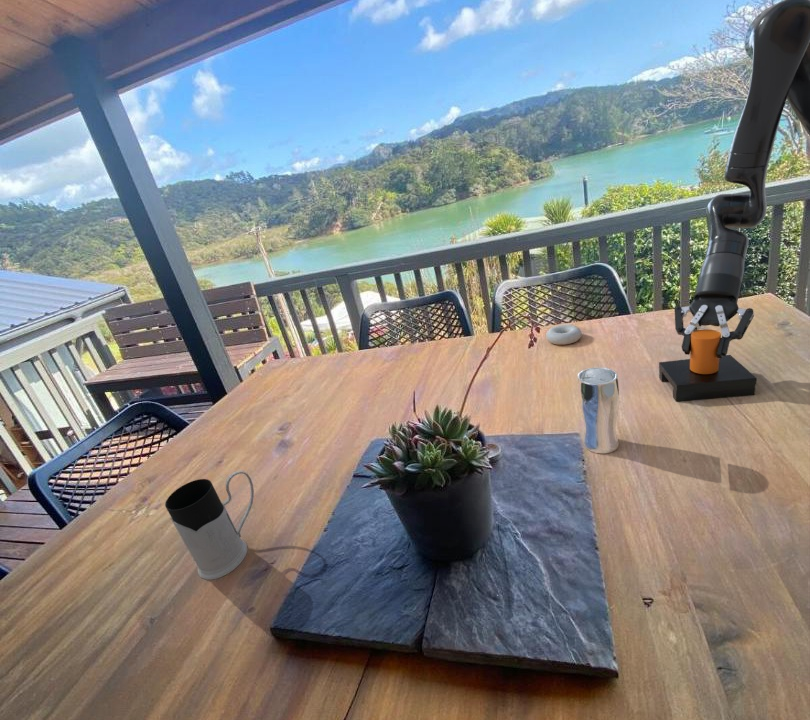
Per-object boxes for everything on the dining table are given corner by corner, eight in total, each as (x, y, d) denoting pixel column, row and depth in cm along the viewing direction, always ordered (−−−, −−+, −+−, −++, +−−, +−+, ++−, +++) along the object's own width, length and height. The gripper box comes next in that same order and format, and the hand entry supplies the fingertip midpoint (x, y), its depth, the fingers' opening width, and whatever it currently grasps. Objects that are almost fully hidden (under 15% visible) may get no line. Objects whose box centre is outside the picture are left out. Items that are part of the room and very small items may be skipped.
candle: (712, 362, 93) (714, 327, 90) (722, 372, 89) (725, 337, 86) (685, 364, 94) (687, 331, 91) (695, 375, 90) (696, 340, 87)
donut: (545, 335, 135) (547, 348, 127) (544, 325, 134) (546, 337, 125) (579, 331, 132) (584, 344, 124) (579, 321, 131) (583, 333, 122)
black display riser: (728, 370, 96) (730, 354, 95) (755, 395, 86) (756, 377, 85) (658, 377, 100) (658, 362, 98) (676, 402, 90) (676, 385, 89)
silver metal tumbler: (585, 431, 88) (580, 365, 82) (623, 436, 84) (621, 367, 78) (578, 452, 83) (572, 383, 77) (618, 458, 79) (616, 386, 73)
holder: (191, 563, 79) (154, 500, 73) (260, 514, 87) (232, 453, 81) (208, 588, 72) (170, 521, 67) (281, 533, 81) (253, 468, 75)
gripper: (677, 271, 94) (659, 345, 91) (762, 271, 84) (745, 353, 81) (683, 287, 99) (666, 356, 96) (763, 288, 89) (747, 365, 87)
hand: (702, 354), depth 89 cm, fingers closed on candle, 5 cm apart
